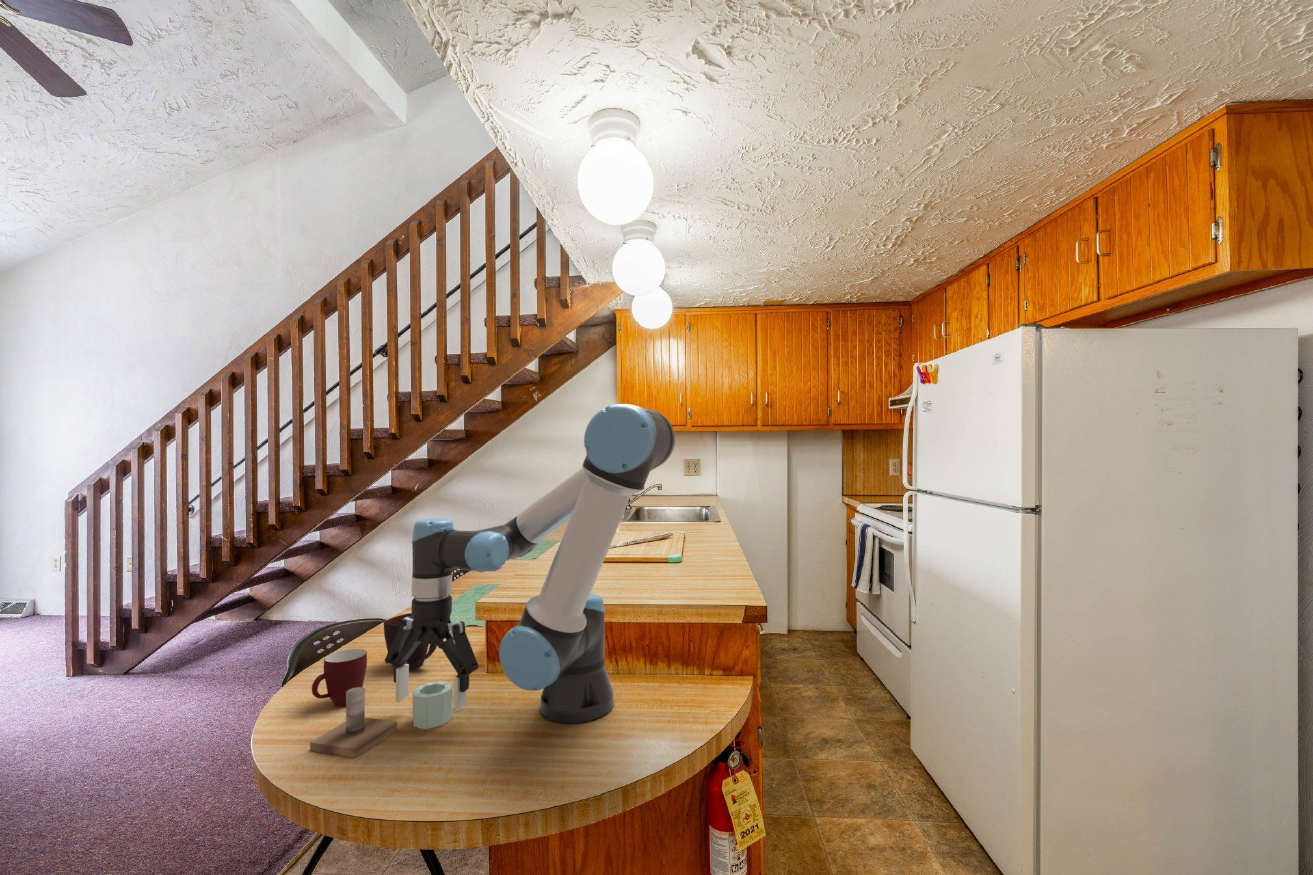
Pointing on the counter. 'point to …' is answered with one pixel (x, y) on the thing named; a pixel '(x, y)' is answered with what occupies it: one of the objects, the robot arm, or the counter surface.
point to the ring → (432, 704)
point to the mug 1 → (342, 674)
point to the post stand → (354, 730)
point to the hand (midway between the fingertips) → (430, 703)
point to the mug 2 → (419, 653)
